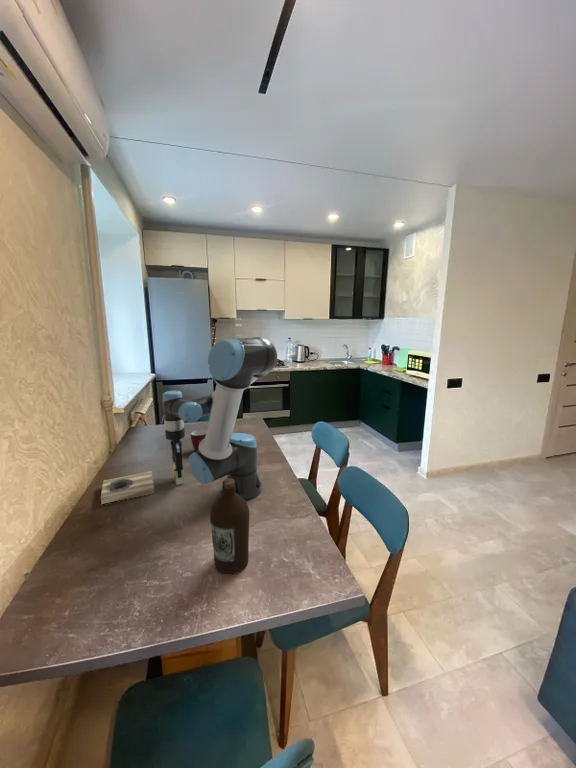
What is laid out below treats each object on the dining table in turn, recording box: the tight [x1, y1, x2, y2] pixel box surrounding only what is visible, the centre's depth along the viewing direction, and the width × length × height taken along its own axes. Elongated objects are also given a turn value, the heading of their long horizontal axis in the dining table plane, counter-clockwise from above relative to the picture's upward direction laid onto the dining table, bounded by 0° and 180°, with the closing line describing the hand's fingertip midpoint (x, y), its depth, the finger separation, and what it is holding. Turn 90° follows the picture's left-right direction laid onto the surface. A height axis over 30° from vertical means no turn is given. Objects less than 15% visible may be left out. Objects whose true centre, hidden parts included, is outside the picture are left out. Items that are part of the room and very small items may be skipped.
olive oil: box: [209, 478, 250, 575], centre depth 86 cm, size 11×11×25 cm
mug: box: [190, 429, 207, 452], centre depth 160 cm, size 10×8×10 cm
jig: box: [100, 471, 155, 505], centre depth 125 cm, size 14×18×3 cm
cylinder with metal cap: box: [172, 461, 185, 484], centre depth 132 cm, size 4×4×8 cm
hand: (178, 480), depth 132 cm, fingers open, 6 cm apart
